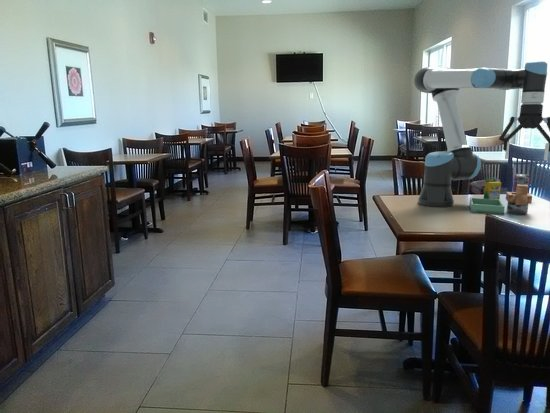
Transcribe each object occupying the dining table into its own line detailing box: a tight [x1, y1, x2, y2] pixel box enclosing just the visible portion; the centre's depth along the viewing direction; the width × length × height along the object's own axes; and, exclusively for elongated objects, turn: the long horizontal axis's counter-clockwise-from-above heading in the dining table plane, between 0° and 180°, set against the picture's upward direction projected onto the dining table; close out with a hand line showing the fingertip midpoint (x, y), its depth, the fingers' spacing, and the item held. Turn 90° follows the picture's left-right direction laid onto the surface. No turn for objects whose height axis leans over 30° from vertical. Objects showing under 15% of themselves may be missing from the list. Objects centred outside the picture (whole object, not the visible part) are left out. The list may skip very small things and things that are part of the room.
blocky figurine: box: [506, 175, 529, 216], centre depth 189 cm, size 8×8×16 cm
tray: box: [468, 197, 506, 215], centre depth 198 cm, size 12×17×3 cm
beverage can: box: [511, 173, 531, 194], centre depth 223 cm, size 7×7×12 cm
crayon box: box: [483, 176, 502, 200], centre depth 212 cm, size 7×3×12 cm, turn 114°
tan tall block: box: [505, 184, 533, 205], centre depth 187 cm, size 8×13×8 cm, turn 160°
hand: (525, 159), depth 180 cm, fingers open, 13 cm apart
